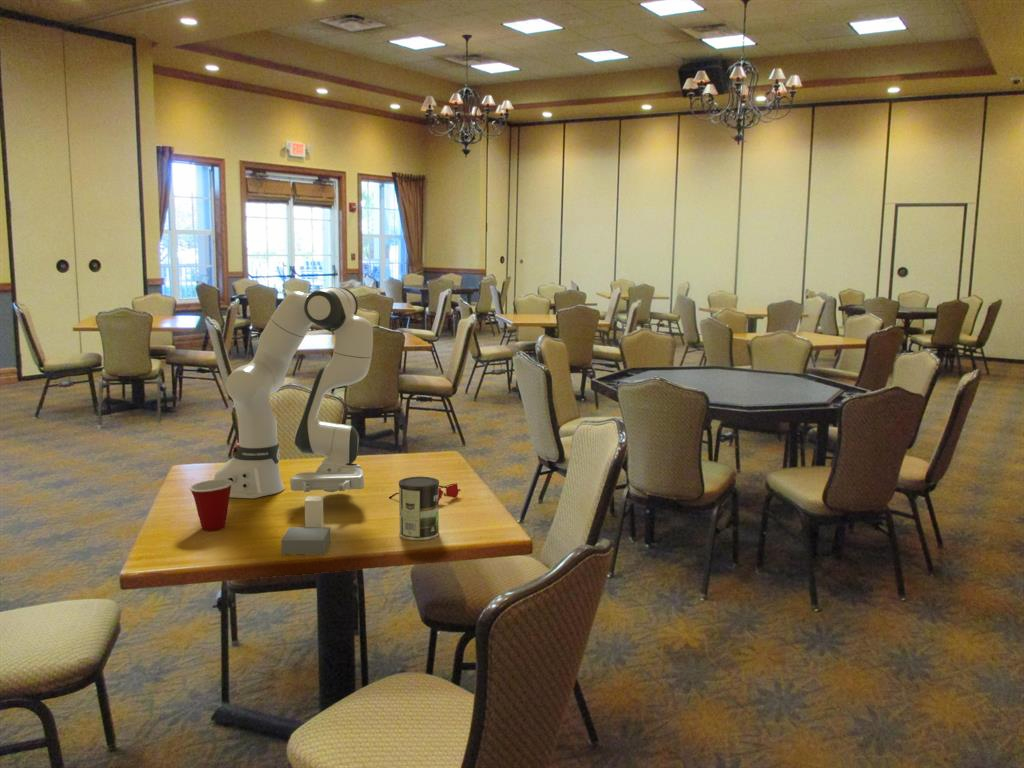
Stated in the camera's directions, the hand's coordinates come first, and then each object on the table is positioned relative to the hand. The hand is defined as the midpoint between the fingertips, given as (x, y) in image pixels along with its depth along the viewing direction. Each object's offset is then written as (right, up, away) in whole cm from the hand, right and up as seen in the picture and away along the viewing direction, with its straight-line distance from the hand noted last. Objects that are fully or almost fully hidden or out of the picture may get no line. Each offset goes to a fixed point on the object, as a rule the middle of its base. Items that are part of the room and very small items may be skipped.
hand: (323, 488), depth 234 cm
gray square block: (+1, -12, -22) cm, 26 cm away
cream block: (0, -10, -11) cm, 15 cm away
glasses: (+25, -6, +23) cm, 34 cm away
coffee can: (+27, -11, -11) cm, 31 cm away
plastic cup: (-27, -9, -8) cm, 30 cm away
